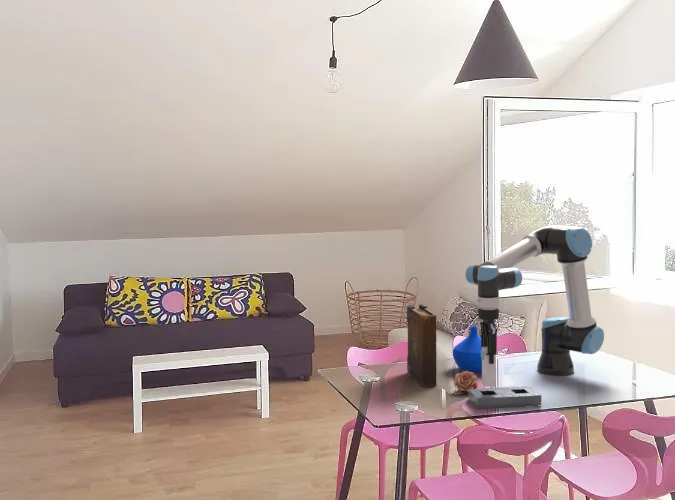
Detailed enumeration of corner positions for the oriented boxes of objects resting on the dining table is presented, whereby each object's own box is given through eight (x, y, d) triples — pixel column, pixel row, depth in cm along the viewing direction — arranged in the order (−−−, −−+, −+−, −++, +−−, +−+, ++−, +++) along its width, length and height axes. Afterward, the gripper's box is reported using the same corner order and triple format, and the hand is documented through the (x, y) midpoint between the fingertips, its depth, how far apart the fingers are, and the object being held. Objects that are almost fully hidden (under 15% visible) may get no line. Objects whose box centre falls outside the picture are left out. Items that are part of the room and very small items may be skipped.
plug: (492, 383, 279) (492, 346, 278) (495, 386, 275) (495, 349, 274) (480, 383, 279) (480, 347, 277) (483, 386, 275) (483, 349, 273)
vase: (448, 373, 321) (448, 330, 319) (457, 363, 338) (457, 321, 336) (491, 377, 314) (491, 332, 312) (498, 366, 331) (498, 324, 329)
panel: (529, 397, 285) (529, 386, 285) (541, 407, 273) (541, 395, 273) (468, 400, 283) (468, 389, 283) (477, 410, 271) (477, 398, 271)
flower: (451, 384, 299) (451, 371, 294) (473, 378, 300) (473, 365, 295) (459, 403, 292) (459, 390, 287) (482, 397, 293) (481, 384, 287)
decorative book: (407, 372, 324) (406, 304, 320) (423, 371, 325) (422, 303, 322) (422, 388, 301) (421, 314, 297) (439, 386, 302) (438, 313, 299)
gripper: (472, 304, 282) (472, 364, 284) (485, 312, 265) (485, 377, 268) (491, 303, 283) (491, 363, 285) (505, 311, 266) (506, 375, 268)
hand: (488, 370), depth 276 cm, fingers closed on plug, 4 cm apart
